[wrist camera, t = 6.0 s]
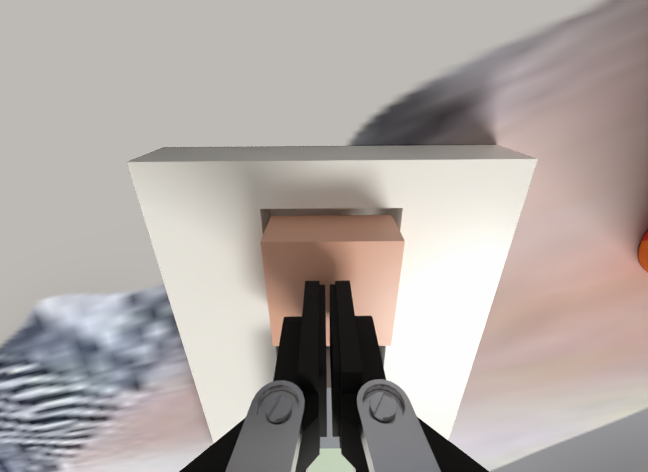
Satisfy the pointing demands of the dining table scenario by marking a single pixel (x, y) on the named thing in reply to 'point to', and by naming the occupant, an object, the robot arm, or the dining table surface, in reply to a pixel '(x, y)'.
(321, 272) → the terracotta key
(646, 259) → the paper cup
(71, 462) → the dining table surface
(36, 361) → the dining table surface
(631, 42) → the dining table surface
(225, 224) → the keypad
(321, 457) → the sage key
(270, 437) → the robot arm
